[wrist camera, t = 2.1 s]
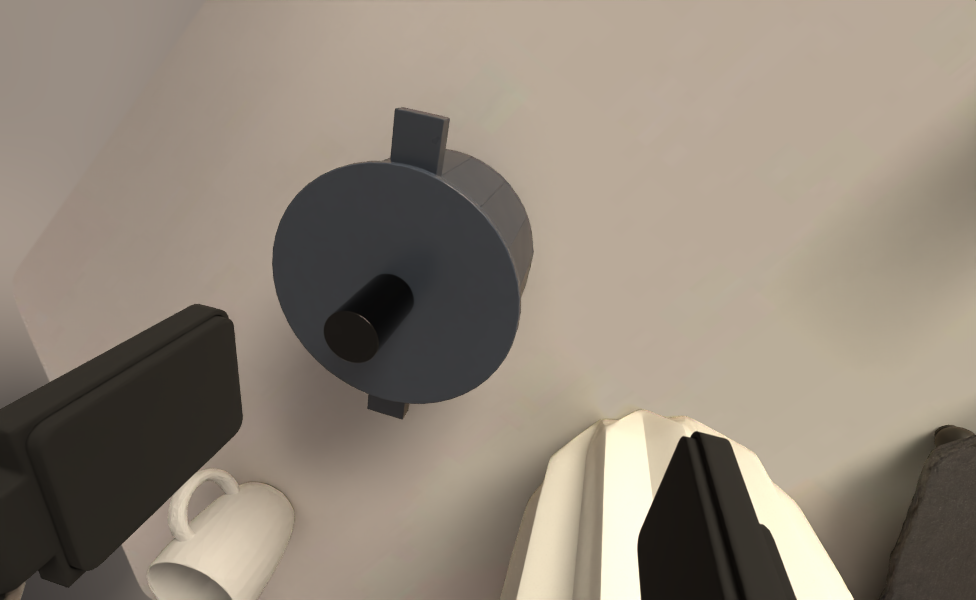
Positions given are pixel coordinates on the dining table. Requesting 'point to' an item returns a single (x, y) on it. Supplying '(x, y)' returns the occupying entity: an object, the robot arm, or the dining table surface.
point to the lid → (396, 282)
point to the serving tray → (939, 526)
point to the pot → (425, 148)
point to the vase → (637, 516)
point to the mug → (222, 542)
